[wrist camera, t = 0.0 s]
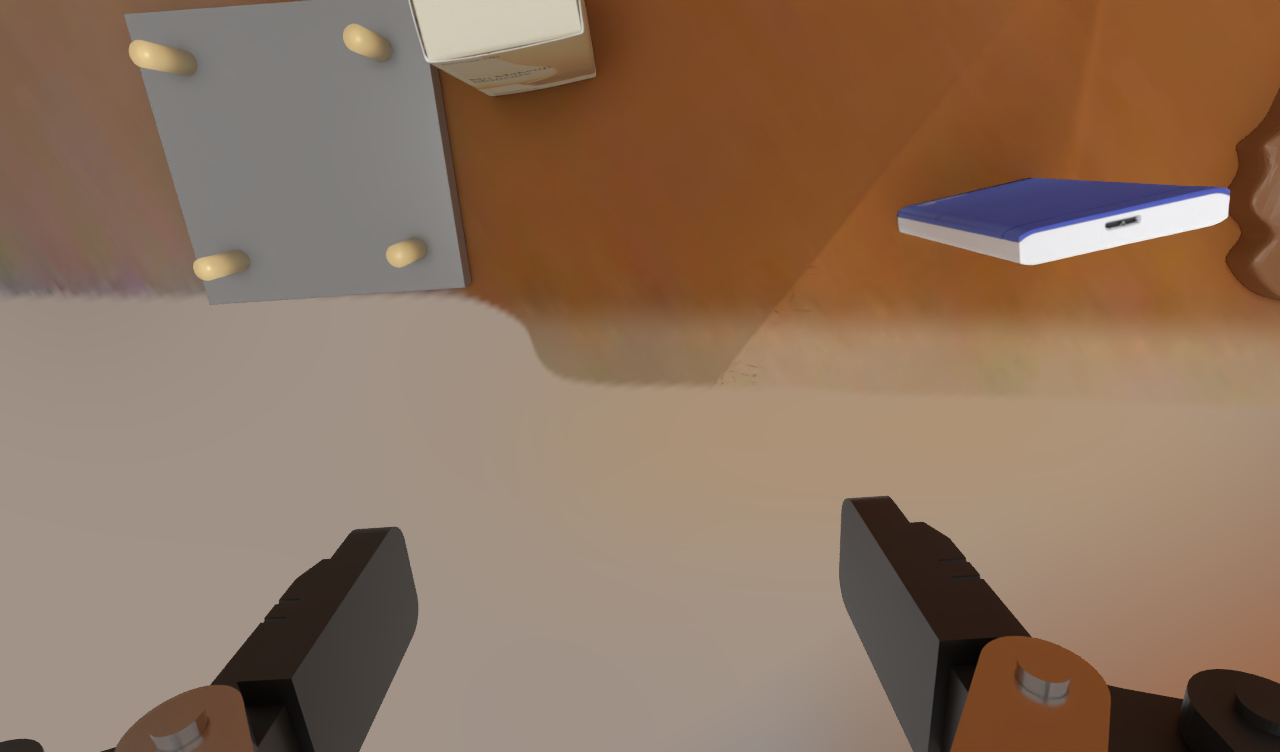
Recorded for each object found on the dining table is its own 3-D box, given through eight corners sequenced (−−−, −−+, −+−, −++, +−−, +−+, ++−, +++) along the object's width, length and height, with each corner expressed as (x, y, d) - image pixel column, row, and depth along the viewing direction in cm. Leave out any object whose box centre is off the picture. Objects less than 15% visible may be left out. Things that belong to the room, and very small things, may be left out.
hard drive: (895, 208, 37) (1018, 230, 25) (1038, 175, 36) (1232, 182, 24) (898, 235, 37) (1020, 269, 25) (1038, 202, 37) (1229, 222, 25)
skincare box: (489, 99, 35) (415, 69, 23) (468, 11, 33) (380, -68, 22) (603, 77, 34) (588, 36, 23) (588, -13, 33) (563, -106, 21)
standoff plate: (145, 20, 33) (73, 0, 29) (427, -1, 33) (396, -25, 29) (225, 299, 38) (174, 316, 34) (471, 282, 38) (450, 298, 34)
